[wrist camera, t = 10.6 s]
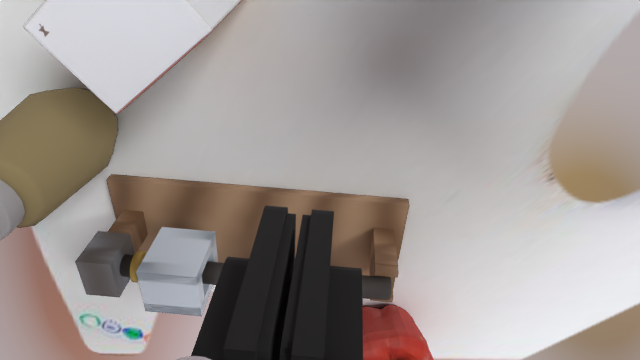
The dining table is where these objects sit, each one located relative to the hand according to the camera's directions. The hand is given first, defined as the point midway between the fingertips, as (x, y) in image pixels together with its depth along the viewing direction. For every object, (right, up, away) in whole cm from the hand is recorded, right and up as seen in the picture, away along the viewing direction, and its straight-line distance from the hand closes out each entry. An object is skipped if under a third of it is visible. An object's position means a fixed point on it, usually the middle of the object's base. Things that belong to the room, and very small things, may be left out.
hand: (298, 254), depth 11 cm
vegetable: (+8, -14, +41) cm, 44 cm away
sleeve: (-12, -5, +32) cm, 34 cm away
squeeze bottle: (-21, +8, +29) cm, 37 cm away
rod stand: (-6, -3, +35) cm, 36 cm away
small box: (-9, +17, +23) cm, 30 cm away
